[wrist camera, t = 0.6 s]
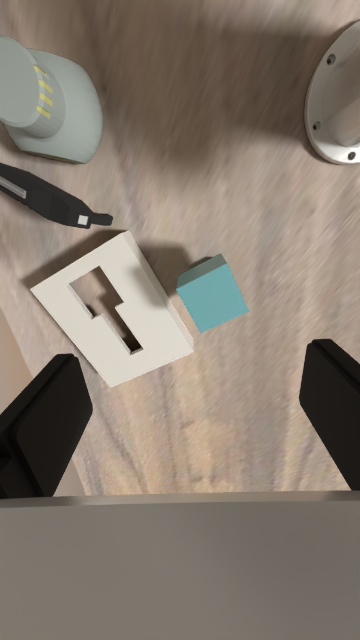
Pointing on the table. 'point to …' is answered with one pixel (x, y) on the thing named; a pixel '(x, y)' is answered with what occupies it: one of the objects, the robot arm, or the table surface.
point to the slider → (211, 293)
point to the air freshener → (48, 104)
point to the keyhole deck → (136, 310)
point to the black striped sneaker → (48, 199)
